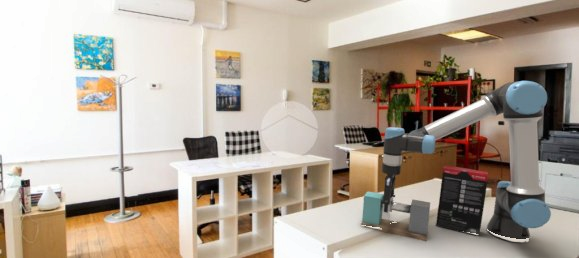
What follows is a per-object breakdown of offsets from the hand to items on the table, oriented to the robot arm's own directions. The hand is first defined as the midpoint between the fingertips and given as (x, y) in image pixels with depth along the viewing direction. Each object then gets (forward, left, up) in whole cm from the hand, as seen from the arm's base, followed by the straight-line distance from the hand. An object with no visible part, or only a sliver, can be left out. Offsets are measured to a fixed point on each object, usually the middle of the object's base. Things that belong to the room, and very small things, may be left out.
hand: (387, 215), depth 137 cm
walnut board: (-3, 0, -6) cm, 6 cm away
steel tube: (-2, 0, +3) cm, 4 cm away
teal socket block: (+6, 0, -4) cm, 7 cm away
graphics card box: (-28, -15, -6) cm, 33 cm away
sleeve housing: (-13, 0, -4) cm, 13 cm away
